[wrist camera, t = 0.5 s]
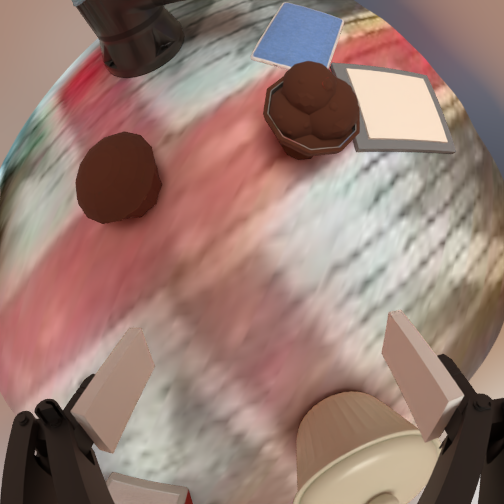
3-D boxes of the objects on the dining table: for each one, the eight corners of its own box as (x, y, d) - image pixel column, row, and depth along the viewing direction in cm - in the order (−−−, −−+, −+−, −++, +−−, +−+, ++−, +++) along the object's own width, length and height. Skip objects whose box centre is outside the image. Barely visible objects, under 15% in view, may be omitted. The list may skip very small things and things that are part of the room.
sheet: (345, 70, 35) (346, 68, 34) (421, 80, 35) (423, 78, 34) (368, 139, 34) (369, 138, 34) (446, 143, 34) (447, 142, 34)
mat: (330, 67, 36) (331, 62, 35) (423, 78, 36) (426, 75, 35) (356, 151, 36) (358, 149, 34) (452, 153, 36) (456, 151, 34)
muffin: (139, 244, 35) (103, 240, 25) (88, 204, 36) (47, 191, 26) (186, 171, 36) (165, 142, 26) (131, 138, 36) (100, 108, 26)
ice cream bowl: (256, 173, 36) (259, 120, 21) (267, 103, 36) (273, 33, 21) (334, 185, 35) (381, 144, 20) (337, 116, 36) (374, 56, 21)
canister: (256, 438, 35) (259, 546, 14) (331, 351, 35) (402, 436, 14) (340, 471, 35) (374, 553, 14) (408, 396, 35) (482, 462, 14)
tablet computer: (323, 84, 36) (325, 79, 35) (248, 61, 36) (248, 56, 35) (343, 23, 37) (345, 19, 35) (282, 5, 37) (283, 0, 35)
